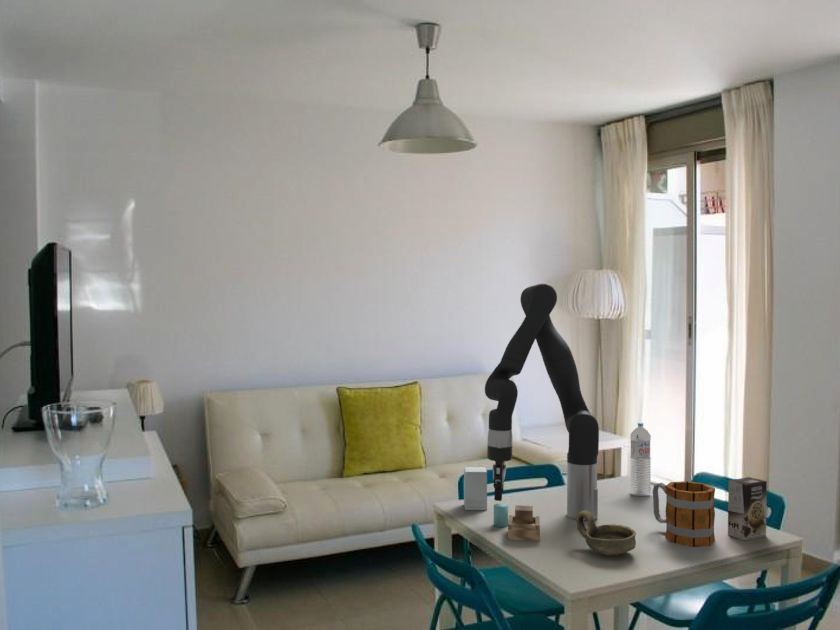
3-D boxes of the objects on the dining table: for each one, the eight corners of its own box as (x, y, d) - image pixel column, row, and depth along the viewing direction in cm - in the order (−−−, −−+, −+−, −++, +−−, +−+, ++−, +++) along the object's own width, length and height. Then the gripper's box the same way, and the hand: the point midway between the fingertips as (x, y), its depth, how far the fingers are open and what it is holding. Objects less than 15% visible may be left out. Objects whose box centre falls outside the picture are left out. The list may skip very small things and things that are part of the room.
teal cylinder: (508, 523, 231) (508, 503, 231) (508, 527, 227) (507, 507, 226) (493, 522, 232) (493, 503, 231) (493, 527, 227) (493, 507, 227)
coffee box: (745, 541, 213) (746, 484, 213) (726, 534, 219) (727, 479, 218) (767, 536, 217) (767, 480, 217) (748, 530, 223) (748, 476, 223)
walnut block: (532, 522, 221) (532, 505, 221) (532, 528, 216) (532, 510, 216) (515, 522, 222) (515, 505, 222) (515, 527, 217) (515, 510, 217)
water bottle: (631, 496, 260) (631, 424, 259) (629, 491, 267) (629, 421, 266) (651, 497, 259) (652, 425, 258) (649, 492, 266) (649, 421, 265)
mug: (725, 541, 213) (725, 488, 213) (695, 550, 206) (695, 495, 205) (668, 523, 230) (668, 474, 229) (638, 531, 222) (638, 481, 222)
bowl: (620, 566, 194) (620, 528, 194) (563, 550, 207) (563, 514, 206) (647, 553, 204) (647, 516, 204) (591, 538, 216) (591, 504, 216)
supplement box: (487, 510, 244) (487, 471, 244) (464, 510, 245) (464, 471, 244) (485, 504, 252) (485, 466, 251) (463, 504, 252) (463, 466, 252)
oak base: (539, 531, 223) (539, 516, 223) (539, 540, 214) (539, 525, 214) (508, 529, 224) (508, 515, 224) (508, 539, 215) (507, 524, 215)
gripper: (489, 438, 237) (488, 489, 237) (485, 447, 222) (484, 502, 223) (513, 439, 235) (512, 491, 236) (511, 449, 221) (510, 503, 222)
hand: (498, 496), depth 229 cm, fingers open, 8 cm apart
